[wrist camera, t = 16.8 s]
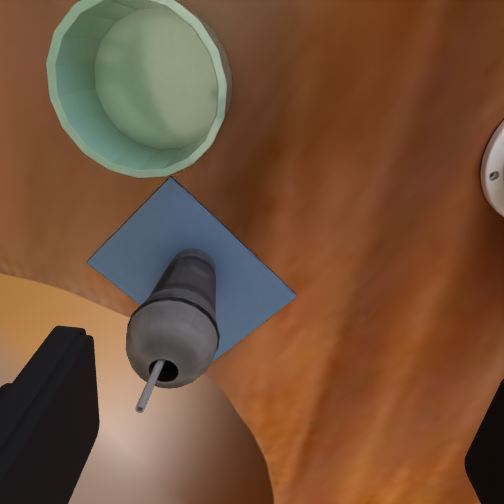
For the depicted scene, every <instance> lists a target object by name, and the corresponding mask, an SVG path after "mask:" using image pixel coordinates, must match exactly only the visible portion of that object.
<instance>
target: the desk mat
mask: <svg viewBox="0 0 504 504" xmlns="http://www.w3.org/2000/svg"><path fill="white" fill-rule="evenodd" d="M191 248H193V249H199V250H202V251H204V252H206V253H207V254H208V255H209V256H210V257H211V258H212V260H213V261H214V264H215V273H216V320H217V325H218V330H219V334H220V339H219V347H218V349H217V351H216V353H215V356H214V358H213V360H212V361H211V362H213V361H215V360H216V359H217V358H219V357H220V356H221V355H222V354H224V353H225V352H226V351H228V350H229V349H230V348H231V347H233V346H234V345H235V344H237V343H238V342H239V341H240V340H242V339H243V338H244V337H246V336H247V335H248V334H249V333H251V332H252V331H253V330H255V329H256V328H257V327H258V326H260V325H261V324H262V323H264V322H265V321H266V320H267V319H269V318H270V317H271V316H273V315H274V314H275V313H276V312H278V311H279V310H280V309H282V308H283V307H284V306H285V305H287V304H288V303H289V302H291V301H292V300H293V299H294V298H296V294H295V293H294V292H293V291H292V290H291V289H290V288H289V287H288V286H287V285H286V284H284V283H283V282H282V281H281V280H280V279H279V278H278V277H277V276H276V275H275V274H274V273H273V272H272V271H271V270H270V269H269V268H268V267H267V266H265V265H264V264H263V263H262V262H261V261H260V260H259V259H258V258H257V257H256V256H255V255H254V254H253V253H252V252H251V251H250V250H249V249H248V248H246V247H245V246H244V245H243V244H242V243H241V242H240V241H239V240H238V239H237V238H236V237H235V236H234V235H233V234H232V233H231V232H230V231H228V230H227V229H226V228H225V227H224V226H223V225H222V224H221V223H220V222H219V221H218V220H217V219H216V218H215V217H214V216H213V215H212V214H211V213H209V212H208V211H207V210H206V209H205V208H204V207H203V206H202V205H201V204H200V203H199V202H198V201H197V200H196V199H195V198H194V197H193V196H191V195H190V194H189V193H188V192H187V191H186V190H185V189H184V188H183V187H182V186H181V185H180V184H179V183H178V182H177V181H176V180H175V179H174V178H172V177H171V176H170V177H169V178H168V180H167V181H166V182H165V183H164V184H163V185H162V186H161V187H160V188H159V189H158V190H157V191H156V192H155V193H154V194H153V195H152V196H151V197H150V198H149V199H148V200H147V201H146V202H145V203H144V204H143V205H142V206H141V207H140V208H139V209H138V210H137V211H136V212H135V213H134V214H133V215H132V216H131V217H130V218H129V219H128V220H127V221H126V222H125V223H124V224H123V225H122V226H121V227H120V228H119V229H118V230H117V231H116V232H115V233H114V234H113V235H112V237H111V238H110V239H109V240H108V241H107V242H106V243H105V244H104V245H103V246H102V247H101V248H100V249H99V250H98V251H97V252H96V253H95V254H94V255H93V256H92V257H91V258H90V259H89V260H88V261H87V263H88V264H89V265H90V266H92V267H93V268H94V269H95V270H97V271H98V272H99V273H100V274H102V275H103V276H104V277H105V278H107V279H108V280H109V281H111V282H112V283H113V284H114V285H116V286H117V287H118V288H119V289H121V290H122V291H123V292H124V293H126V294H127V295H128V296H129V297H131V298H132V299H133V300H134V301H136V302H137V303H138V304H139V305H142V304H143V303H144V302H145V301H146V300H147V299H148V297H149V296H150V294H151V293H152V291H153V289H154V288H155V286H156V285H157V283H158V281H159V280H160V278H161V277H162V275H163V273H164V272H165V270H166V269H167V267H168V265H169V264H170V262H171V261H172V260H173V259H174V257H175V256H176V255H177V254H178V253H179V252H181V251H183V250H185V249H191Z"/></svg>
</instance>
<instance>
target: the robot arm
mask: <svg viewBox="0 0 504 504" xmlns="http://www.w3.org/2000/svg"><path fill="white" fill-rule="evenodd" d="M480 173H481V185H482V189H483V192H484V196H485V197H486V199H487V201H488V203H489V204H490V205H491V207H492V208H493V209H494V210H495V211H496V212H497V213H499V214H500V215H502V216H503V217H504V120H503V121H502V123H501V124H500V125H499V127H498V128H497V129H496V131H495V132H494V134H493V135H492V137H491V139H490V141H489V143H488V145H487V147H486V150H485V153H484V156H483V159H482V165H481V172H480ZM491 173H492V174H491ZM490 174H491V175H490ZM98 430H99V408H98V394H97V382H96V368H95V353H94V340H93V337H92V336H90V335H86V331H85V329H83V328H76V327H66V326H56V327H55V328H54V329H53V330H52V331H51V333H50V334H49V335H48V337H47V338H46V339H45V341H44V342H43V343H42V345H41V346H40V347H39V348H38V350H37V351H36V352H35V354H34V355H33V357H32V358H31V359H30V360H29V362H28V363H27V364H26V366H25V367H24V368H23V370H22V371H21V372H20V373H19V375H18V376H17V377H16V379H15V380H14V381H13V383H6V384H5V385H3V386H1V387H0V504H68V502H69V500H70V498H71V496H72V493H73V491H74V488H75V486H76V484H77V482H78V479H79V477H80V474H81V472H82V470H83V468H84V465H85V463H86V461H87V459H88V456H89V454H90V452H91V449H92V447H93V445H94V442H95V440H96V437H97V434H98ZM465 470H466V473H467V476H468V478H469V480H470V482H471V484H472V486H473V488H474V490H475V492H476V494H477V496H478V498H479V500H480V502H481V504H504V379H503V380H502V381H501V383H500V385H499V387H498V390H497V392H496V394H495V396H494V398H493V400H492V402H491V404H490V406H489V408H488V410H487V413H486V415H485V417H484V419H483V421H482V423H481V425H480V427H479V429H478V431H477V433H476V436H475V438H474V440H473V442H472V444H471V446H470V448H469V450H468V452H467V454H466V457H465Z"/></svg>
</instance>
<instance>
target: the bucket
mask: <svg viewBox="0 0 504 504" xmlns="http://www.w3.org/2000/svg"><path fill="white" fill-rule="evenodd" d="M46 63H47V64H46V67H47V77H48V88H49V96H50V100H51V102H52V105H53V107H54V109H55V112H56V114H57V116H58V119H59V121H60V123H61V126H62V128H63V129H64V130H65V132H66V133H67V134H68V135H69V136H70V138H71V139H72V140H73V141H74V142H75V144H76V145H77V146H78V147H79V148H80V150H81V151H82V152H83V153H84V154H86V155H87V156H89V157H90V158H92V159H93V160H95V161H96V162H98V163H99V164H101V165H102V166H104V167H105V168H107V169H108V170H111V171H114V172H118V173H121V174H125V175H128V176H132V177H136V178H150V177H166V176H169V175H171V174H173V173H176V172H178V171H180V170H182V169H184V168H187V167H189V166H191V165H193V164H194V163H195V162H196V161H197V160H198V159H199V158H200V157H201V156H202V155H203V154H204V153H205V152H206V151H207V150H208V149H209V148H210V147H211V146H212V144H213V142H214V140H215V138H216V136H217V134H218V131H219V129H220V127H221V125H222V123H223V120H224V118H225V116H226V114H227V111H228V109H229V107H230V103H231V93H232V74H231V70H230V65H229V61H228V58H227V54H226V51H225V49H224V47H223V46H222V44H221V42H220V41H219V39H218V37H217V36H216V34H215V33H214V31H213V30H212V28H211V27H210V25H208V24H207V23H206V22H205V21H203V20H202V19H201V18H200V17H198V16H197V15H196V14H195V13H193V12H192V11H191V10H190V9H188V8H187V7H185V6H184V5H182V4H181V3H179V2H178V1H176V0H81V1H79V2H77V3H75V4H74V5H73V6H72V8H71V9H70V10H69V12H68V13H67V14H66V16H65V17H64V18H63V20H62V21H61V22H60V24H59V25H58V27H57V28H56V29H55V31H54V34H53V38H52V42H51V46H50V50H49V53H48V57H47V61H46Z"/></svg>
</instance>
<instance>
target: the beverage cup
mask: <svg viewBox="0 0 504 504" xmlns="http://www.w3.org/2000/svg"><path fill="white" fill-rule="evenodd" d="M219 339H220V334H219V330H218V325H217V320H216V273H215V264H214V261H213V260H212V258H211V257H210V256H209V255H208V254H207V253H206V252H204V251H202V250H199V249H193V248H191V249H185V250H183V251H181V252H179V253H178V254H177V255H176V256H175V257H174V259H173V260H172V261H171V262H170V264H169V265H168V267H167V269H166V270H165V272H164V273H163V275H162V277H161V278H160V280H159V281H158V283H157V285H156V286H155V288H154V289H153V291H152V293H151V294H150V296H149V297H148V299H147V300H146V301H145V302H144V303H143V304H142V305H141V306H140V307H139V308H138V309H137V310H136V311H135V312H134V313H133V314H132V316H131V318H130V321H129V323H128V327H127V335H126V352H127V356H128V359H129V361H130V364H131V366H132V368H133V369H134V370H135V372H136V373H137V374H138V375H139V376H140V378H142V379H143V380H144V381H146V382H147V384H146V386H145V388H144V390H143V393H142V395H141V397H140V399H139V402H138V404H137V406H136V411H137V412H138V413H142V412H143V411H144V409H145V407H146V404H147V402H148V400H149V397H150V395H151V393H152V390H153V388H154V386H157V387H161V388H178V387H182V386H184V385H187V384H189V383H191V382H193V381H195V380H196V379H197V378H198V377H200V376H201V375H202V374H203V373H204V372H205V371H206V370H207V368H208V367H209V365H210V363H211V361H212V360H213V358H214V356H215V353H216V351H217V349H218V347H219Z"/></svg>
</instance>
